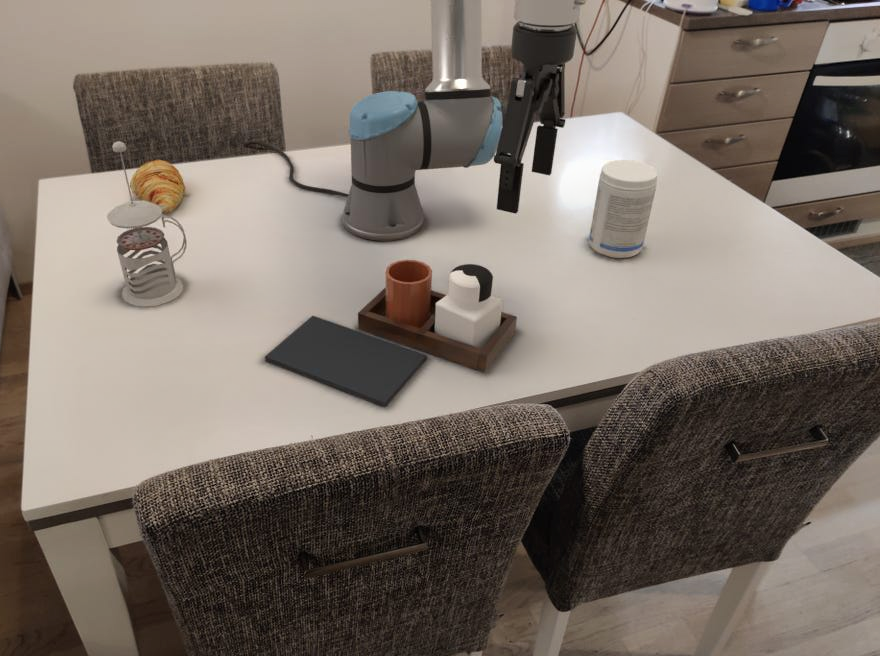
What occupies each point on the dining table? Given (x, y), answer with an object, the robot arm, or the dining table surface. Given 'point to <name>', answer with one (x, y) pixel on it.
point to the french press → (153, 279)
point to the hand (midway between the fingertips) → (525, 191)
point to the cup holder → (433, 342)
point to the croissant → (158, 184)
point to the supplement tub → (622, 208)
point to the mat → (347, 360)
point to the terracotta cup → (408, 292)
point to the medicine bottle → (469, 307)
